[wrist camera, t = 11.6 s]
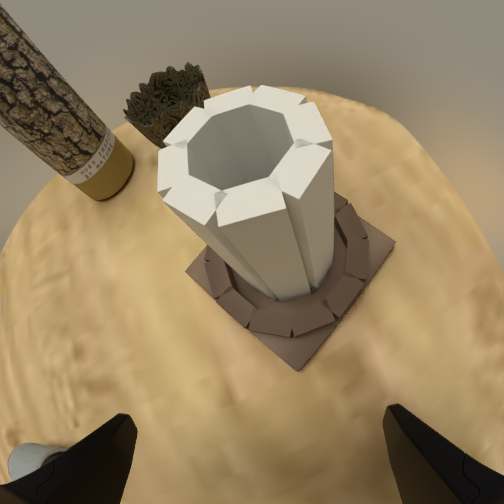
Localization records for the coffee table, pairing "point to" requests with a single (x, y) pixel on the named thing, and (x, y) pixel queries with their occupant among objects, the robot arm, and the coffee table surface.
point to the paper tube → (56, 118)
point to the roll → (256, 186)
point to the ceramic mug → (31, 458)
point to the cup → (166, 101)
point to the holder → (304, 309)
